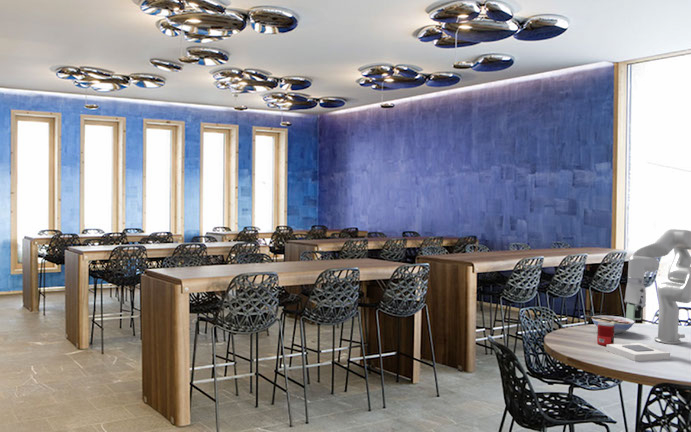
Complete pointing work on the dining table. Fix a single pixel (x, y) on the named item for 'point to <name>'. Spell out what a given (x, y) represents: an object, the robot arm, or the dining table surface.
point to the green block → (631, 312)
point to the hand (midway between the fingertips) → (633, 316)
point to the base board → (637, 351)
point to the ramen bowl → (614, 322)
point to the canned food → (605, 333)
